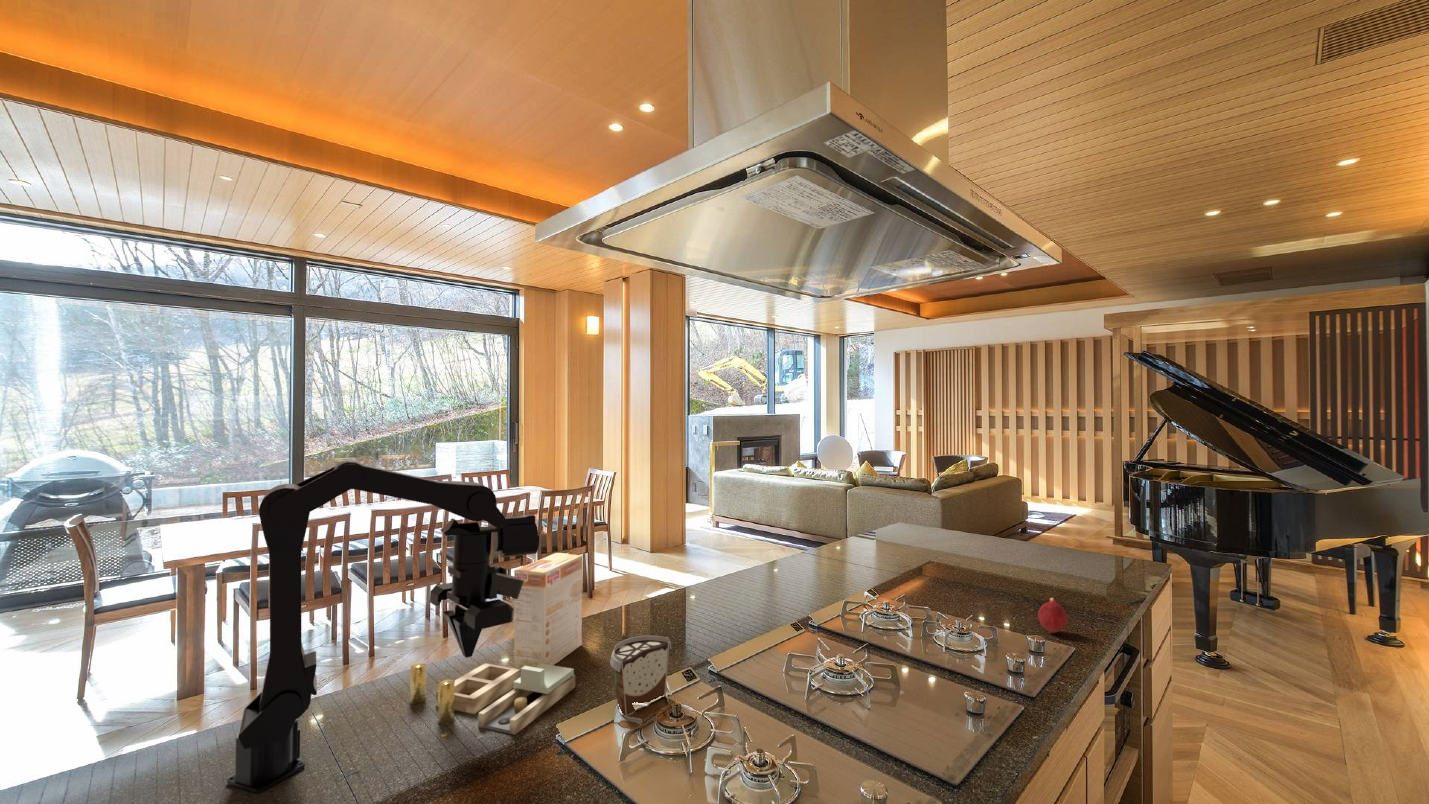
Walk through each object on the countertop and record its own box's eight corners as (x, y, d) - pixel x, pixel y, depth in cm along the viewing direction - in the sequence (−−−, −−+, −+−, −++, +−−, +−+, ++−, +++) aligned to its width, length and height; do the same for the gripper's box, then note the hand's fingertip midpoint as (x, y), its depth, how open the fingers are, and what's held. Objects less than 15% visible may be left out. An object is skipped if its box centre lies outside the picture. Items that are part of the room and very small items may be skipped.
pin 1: (417, 704, 101) (418, 669, 101) (406, 702, 102) (407, 667, 102) (428, 698, 104) (429, 664, 104) (418, 696, 104) (418, 662, 104)
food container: (647, 683, 110) (647, 629, 110) (671, 693, 106) (671, 637, 106) (594, 709, 100) (595, 649, 100) (618, 721, 96) (619, 659, 96)
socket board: (474, 714, 98) (474, 698, 98) (436, 706, 101) (436, 691, 101) (520, 683, 110) (520, 669, 110) (484, 676, 112) (485, 663, 112)
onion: (1072, 638, 133) (1072, 602, 133) (1046, 637, 133) (1046, 602, 133) (1058, 628, 138) (1058, 594, 139) (1033, 628, 139) (1033, 594, 139)
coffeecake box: (554, 641, 130) (555, 552, 130) (583, 645, 128) (584, 554, 128) (511, 669, 115) (512, 569, 116) (543, 674, 113) (544, 572, 114)
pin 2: (446, 724, 95) (446, 687, 95) (434, 722, 96) (435, 684, 96) (457, 717, 97) (457, 680, 97) (445, 715, 98) (446, 678, 98)
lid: (547, 694, 100) (547, 673, 100) (513, 687, 102) (513, 667, 102) (573, 674, 108) (573, 655, 108) (541, 668, 110) (541, 649, 110)
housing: (514, 734, 92) (515, 720, 92) (478, 726, 94) (478, 713, 94) (575, 687, 108) (575, 675, 108) (542, 681, 110) (542, 669, 110)
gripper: (545, 563, 96) (541, 660, 96) (493, 544, 109) (489, 630, 109) (478, 574, 88) (474, 680, 88) (430, 553, 101) (426, 645, 101)
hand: (467, 656), depth 96 cm, fingers closed
